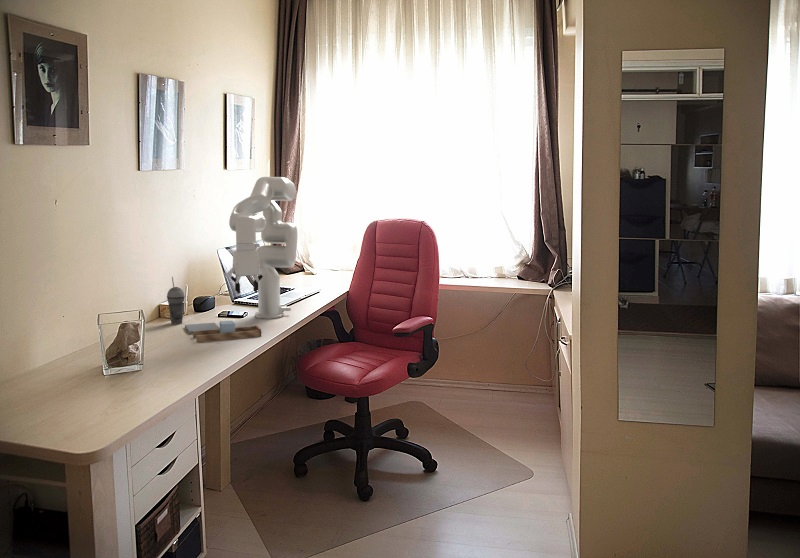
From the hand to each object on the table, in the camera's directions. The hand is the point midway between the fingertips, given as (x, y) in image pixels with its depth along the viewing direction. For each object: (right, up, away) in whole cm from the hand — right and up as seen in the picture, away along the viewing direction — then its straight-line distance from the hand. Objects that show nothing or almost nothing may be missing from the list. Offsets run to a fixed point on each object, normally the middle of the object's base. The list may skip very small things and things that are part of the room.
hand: (246, 291), depth 285 cm
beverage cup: (-34, -14, +20) cm, 42 cm away
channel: (-8, -18, 0) cm, 19 cm away
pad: (-20, -16, +10) cm, 28 cm away
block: (-8, -18, 0) cm, 19 cm away
